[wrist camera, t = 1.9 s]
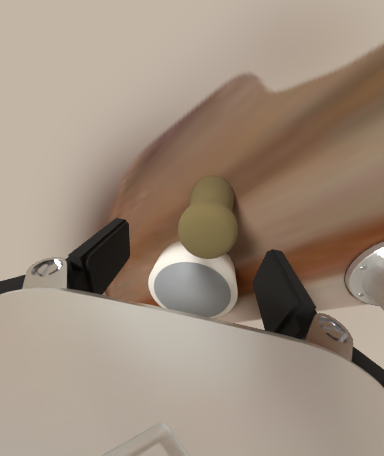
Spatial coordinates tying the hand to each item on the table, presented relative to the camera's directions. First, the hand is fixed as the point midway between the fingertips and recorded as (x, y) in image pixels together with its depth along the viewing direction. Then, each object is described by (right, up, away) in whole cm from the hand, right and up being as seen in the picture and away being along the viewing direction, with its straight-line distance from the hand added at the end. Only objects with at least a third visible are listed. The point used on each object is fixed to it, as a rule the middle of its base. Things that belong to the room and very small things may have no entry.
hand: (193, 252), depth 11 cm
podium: (0, -6, +18) cm, 19 cm away
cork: (+3, +6, +12) cm, 13 cm away
